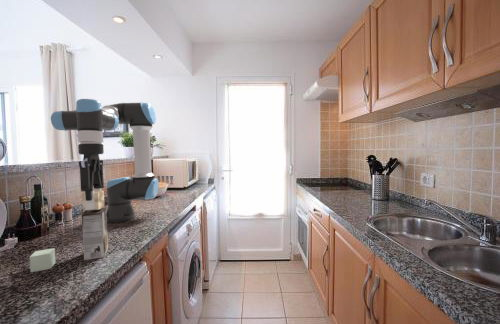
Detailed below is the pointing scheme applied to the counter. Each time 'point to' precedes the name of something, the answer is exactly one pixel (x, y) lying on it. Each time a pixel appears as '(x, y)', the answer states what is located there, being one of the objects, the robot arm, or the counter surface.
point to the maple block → (98, 200)
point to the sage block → (42, 260)
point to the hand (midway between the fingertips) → (94, 207)
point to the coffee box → (94, 233)
